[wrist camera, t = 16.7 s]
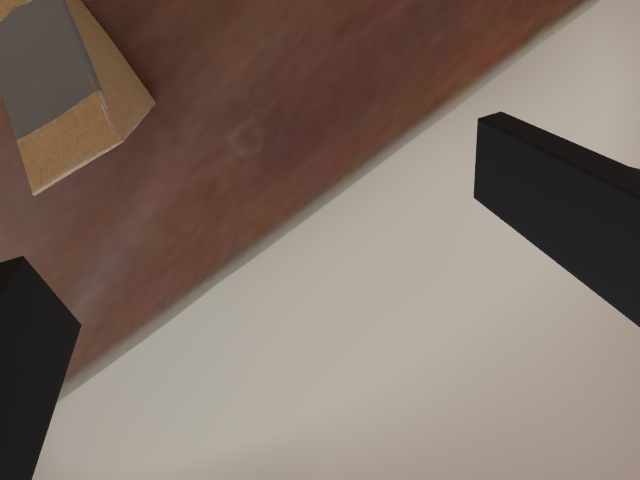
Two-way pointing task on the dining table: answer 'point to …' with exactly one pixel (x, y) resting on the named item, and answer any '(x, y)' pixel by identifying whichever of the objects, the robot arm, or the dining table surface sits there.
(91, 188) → the dining table surface
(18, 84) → the sandwich container
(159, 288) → the dining table surface
